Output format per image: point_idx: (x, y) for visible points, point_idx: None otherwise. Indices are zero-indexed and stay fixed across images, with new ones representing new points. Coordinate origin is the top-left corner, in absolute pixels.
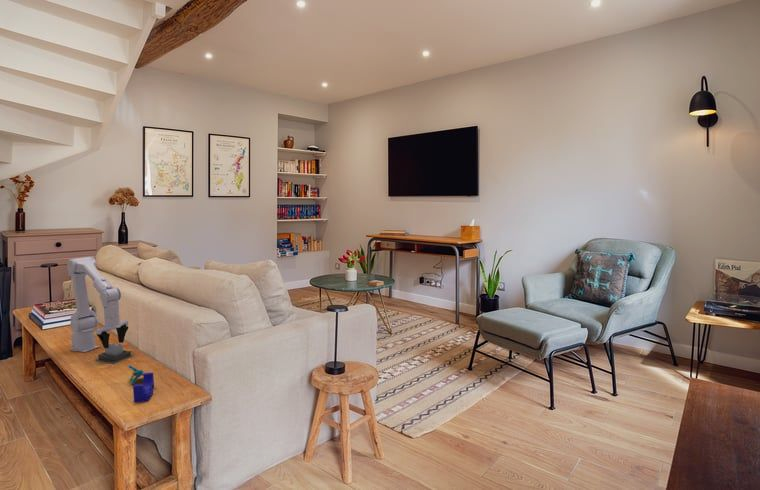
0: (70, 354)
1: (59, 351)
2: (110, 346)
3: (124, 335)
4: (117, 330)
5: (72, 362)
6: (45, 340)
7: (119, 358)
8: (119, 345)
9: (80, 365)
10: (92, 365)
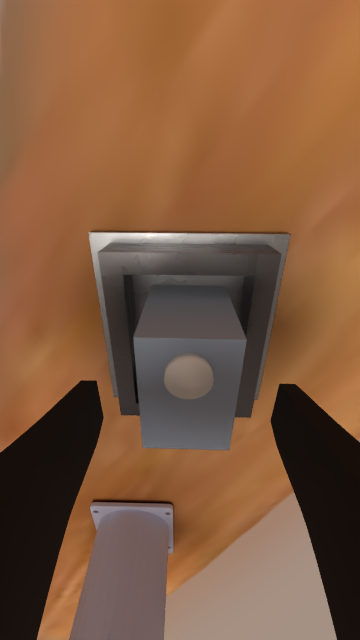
0: (208, 524)
1: (194, 560)
2: (225, 402)
3: (22, 445)
4: (35, 616)
5: None
6: None
7: (230, 246)
8: (168, 347)
9: (333, 409)
10: (330, 353)
